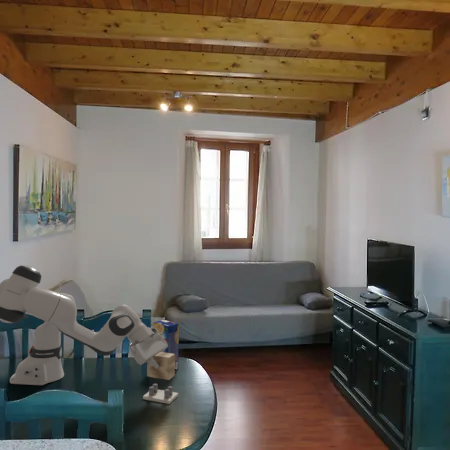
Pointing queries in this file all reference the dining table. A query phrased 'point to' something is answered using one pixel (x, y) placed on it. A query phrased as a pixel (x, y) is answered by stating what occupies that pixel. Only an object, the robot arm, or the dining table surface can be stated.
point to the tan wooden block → (162, 366)
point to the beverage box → (169, 336)
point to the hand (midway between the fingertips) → (162, 364)
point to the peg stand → (160, 394)
